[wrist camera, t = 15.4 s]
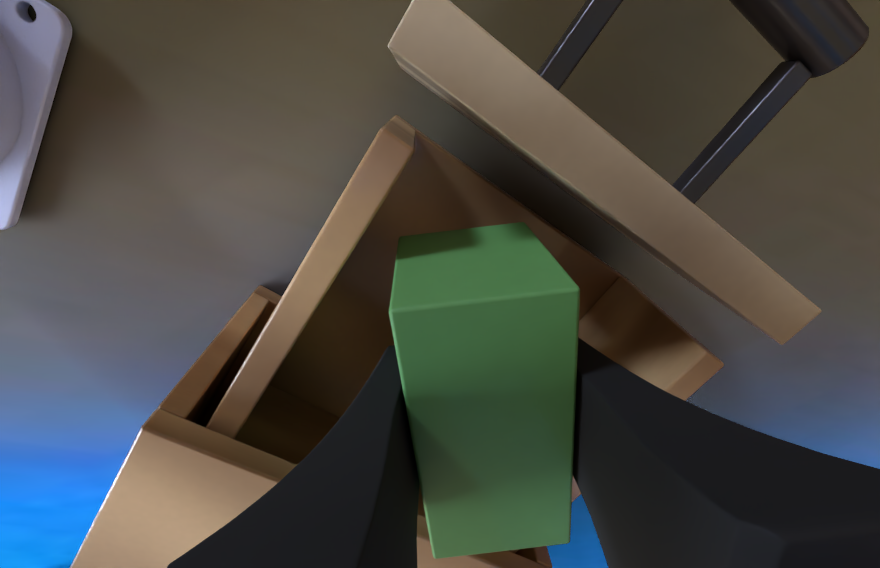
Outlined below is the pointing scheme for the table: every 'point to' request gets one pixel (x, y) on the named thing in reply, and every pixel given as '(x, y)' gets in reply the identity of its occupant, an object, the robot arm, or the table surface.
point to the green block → (488, 385)
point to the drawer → (524, 218)
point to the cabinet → (212, 471)
